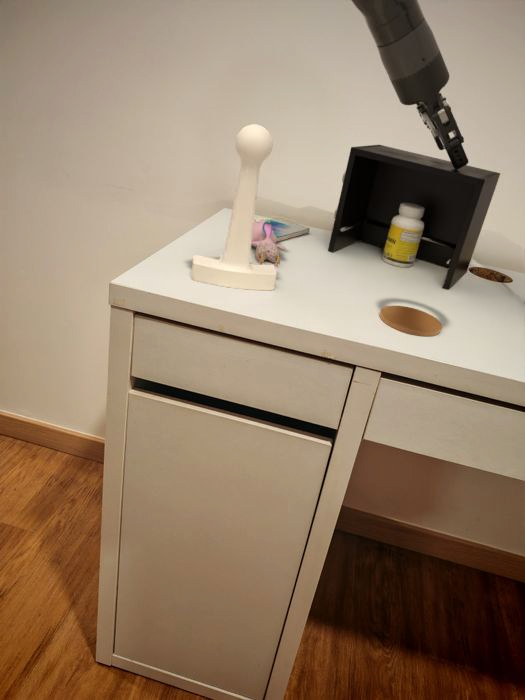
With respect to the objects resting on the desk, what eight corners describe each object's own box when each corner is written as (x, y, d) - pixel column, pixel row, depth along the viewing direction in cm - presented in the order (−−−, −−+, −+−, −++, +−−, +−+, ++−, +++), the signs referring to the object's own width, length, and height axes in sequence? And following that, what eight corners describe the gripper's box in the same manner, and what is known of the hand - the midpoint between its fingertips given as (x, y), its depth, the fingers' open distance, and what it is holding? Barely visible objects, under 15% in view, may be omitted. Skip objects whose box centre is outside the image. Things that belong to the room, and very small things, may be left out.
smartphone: (311, 228, 107) (267, 240, 95) (310, 233, 107) (266, 246, 95) (278, 217, 110) (232, 227, 98) (277, 221, 110) (231, 232, 98)
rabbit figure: (287, 276, 88) (271, 231, 100) (296, 240, 84) (279, 198, 96) (246, 272, 87) (235, 227, 98) (254, 235, 83) (241, 193, 95)
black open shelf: (448, 290, 91) (485, 179, 83) (322, 249, 99) (345, 145, 92) (466, 272, 101) (500, 173, 94) (351, 237, 110) (373, 143, 102)
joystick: (190, 282, 75) (210, 118, 67) (192, 263, 82) (210, 111, 73) (275, 293, 77) (305, 134, 68) (269, 273, 84) (296, 126, 75)
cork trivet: (428, 313, 80) (430, 309, 80) (450, 339, 73) (451, 335, 73) (372, 306, 79) (374, 302, 79) (389, 332, 72) (390, 327, 72)
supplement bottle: (379, 255, 102) (394, 199, 98) (409, 260, 102) (425, 204, 98) (384, 264, 97) (400, 206, 93) (415, 270, 97) (433, 212, 93)
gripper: (452, 56, 76) (492, 159, 85) (424, 35, 88) (462, 128, 96) (399, 89, 79) (443, 186, 87) (379, 65, 90) (420, 153, 99)
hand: (453, 156), depth 92 cm, fingers open, 8 cm apart
